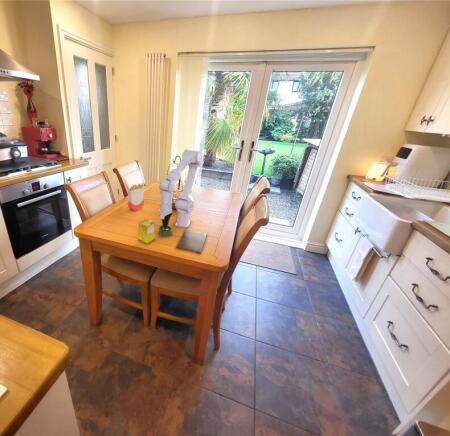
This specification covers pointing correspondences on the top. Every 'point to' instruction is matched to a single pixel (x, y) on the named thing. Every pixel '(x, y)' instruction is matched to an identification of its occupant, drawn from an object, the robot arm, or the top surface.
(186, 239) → the board
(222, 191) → the top surface
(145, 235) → the supplement box
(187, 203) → the robot arm
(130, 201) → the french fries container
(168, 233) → the green bowl
